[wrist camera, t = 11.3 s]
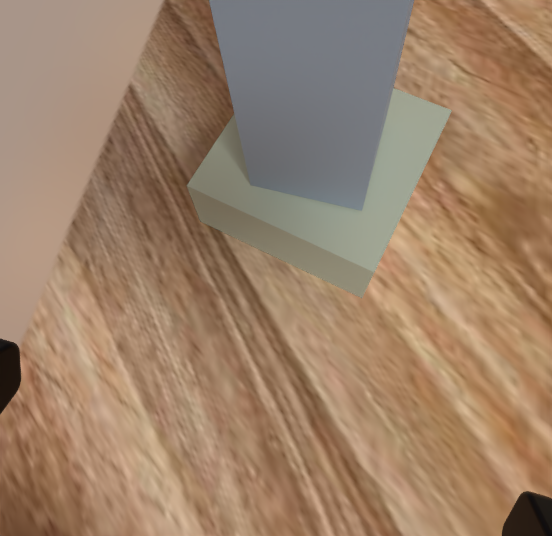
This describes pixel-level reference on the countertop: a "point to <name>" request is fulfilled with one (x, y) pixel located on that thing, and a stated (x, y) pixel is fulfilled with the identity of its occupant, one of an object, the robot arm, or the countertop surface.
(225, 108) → the countertop surface
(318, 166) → the grey tall block
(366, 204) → the sage block
